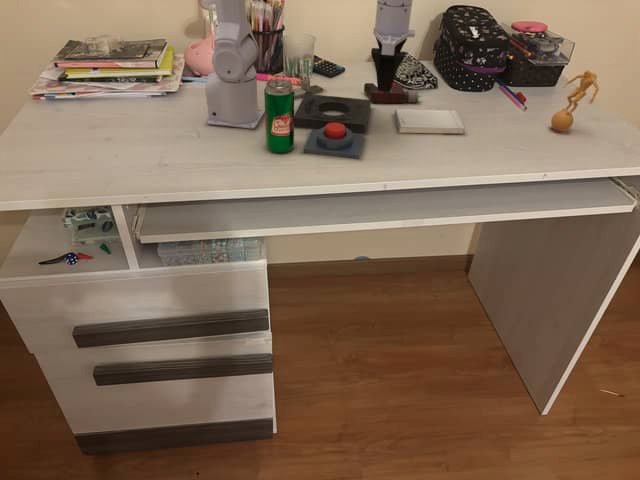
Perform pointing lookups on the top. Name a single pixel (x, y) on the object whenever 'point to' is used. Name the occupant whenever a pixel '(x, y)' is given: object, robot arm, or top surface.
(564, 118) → the figurine
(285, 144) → the soda can
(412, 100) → the toy gun
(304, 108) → the dock
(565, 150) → the top surface
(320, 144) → the button box
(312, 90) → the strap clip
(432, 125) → the hard drive
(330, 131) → the power button
